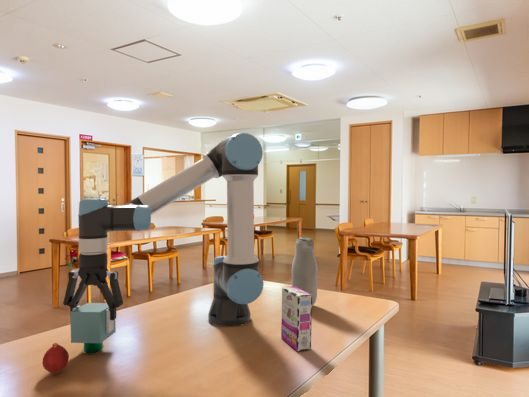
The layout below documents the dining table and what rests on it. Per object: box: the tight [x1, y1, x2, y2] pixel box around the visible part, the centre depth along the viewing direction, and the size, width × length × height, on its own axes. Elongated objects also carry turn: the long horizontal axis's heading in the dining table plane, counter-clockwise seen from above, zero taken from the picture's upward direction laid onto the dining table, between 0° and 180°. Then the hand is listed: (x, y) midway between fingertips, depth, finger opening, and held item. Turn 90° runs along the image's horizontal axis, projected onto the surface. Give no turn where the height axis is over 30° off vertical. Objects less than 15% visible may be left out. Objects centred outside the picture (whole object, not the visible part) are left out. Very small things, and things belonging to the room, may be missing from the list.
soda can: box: [83, 341, 104, 355], centre depth 110 cm, size 5×5×12 cm
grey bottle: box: [291, 236, 319, 306], centre depth 154 cm, size 10×10×28 cm
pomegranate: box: [42, 342, 70, 376], centre depth 96 cm, size 6×6×8 cm
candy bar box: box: [280, 286, 313, 353], centre depth 117 cm, size 11×5×16 cm, turn 23°
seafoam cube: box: [69, 302, 117, 344], centre depth 110 cm, size 9×9×9 cm
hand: (93, 330), depth 110 cm, fingers open, 9 cm apart
